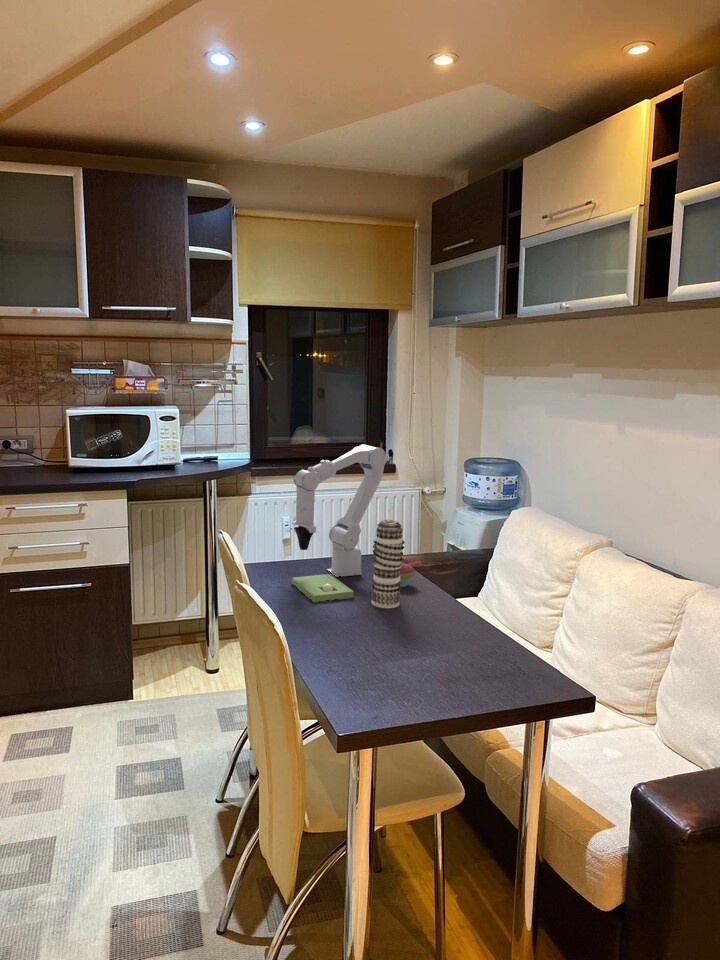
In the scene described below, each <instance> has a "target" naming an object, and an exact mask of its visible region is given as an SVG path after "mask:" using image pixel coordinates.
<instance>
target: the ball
mask: <svg viewBox="0 0 720 960" xmlns="http://www.w3.org/2000/svg"><path fill="white" fill-rule="evenodd" d="M322 591H323V592H329V591H333V587H332V586H331V585H330V584H325V585H324V586H323V588H322Z"/></svg>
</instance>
